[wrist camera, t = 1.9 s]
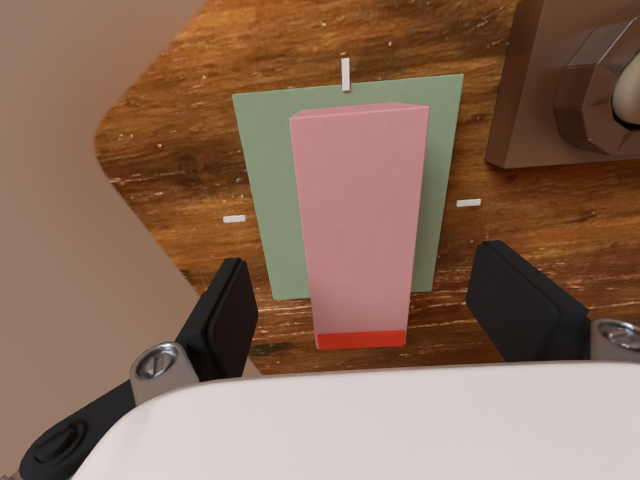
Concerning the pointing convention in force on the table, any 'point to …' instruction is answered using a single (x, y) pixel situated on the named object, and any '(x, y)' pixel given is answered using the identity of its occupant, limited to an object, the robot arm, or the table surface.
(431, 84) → the green mat
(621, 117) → the button
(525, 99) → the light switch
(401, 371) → the robot arm
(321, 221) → the pink bar
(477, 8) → the table surface
